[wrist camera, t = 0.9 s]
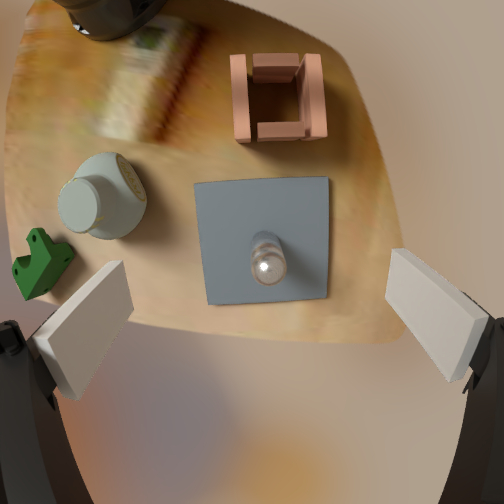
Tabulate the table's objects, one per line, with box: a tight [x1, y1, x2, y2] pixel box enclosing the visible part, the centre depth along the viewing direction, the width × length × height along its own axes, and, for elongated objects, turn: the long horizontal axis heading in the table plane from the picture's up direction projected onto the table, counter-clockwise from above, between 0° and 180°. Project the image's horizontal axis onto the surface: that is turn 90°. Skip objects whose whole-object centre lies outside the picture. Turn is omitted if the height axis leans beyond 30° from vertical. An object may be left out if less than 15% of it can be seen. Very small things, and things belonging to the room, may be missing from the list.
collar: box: [230, 53, 327, 143], centre depth 28 cm, size 9×9×7 cm
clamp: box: [12, 228, 74, 301], centre depth 35 cm, size 12×6×9 cm, turn 124°
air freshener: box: [58, 152, 147, 240], centre depth 30 cm, size 11×8×10 cm
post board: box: [194, 176, 329, 305], centre depth 36 cm, size 16×16×1 cm
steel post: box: [251, 231, 287, 286], centre depth 31 cm, size 4×4×10 cm
